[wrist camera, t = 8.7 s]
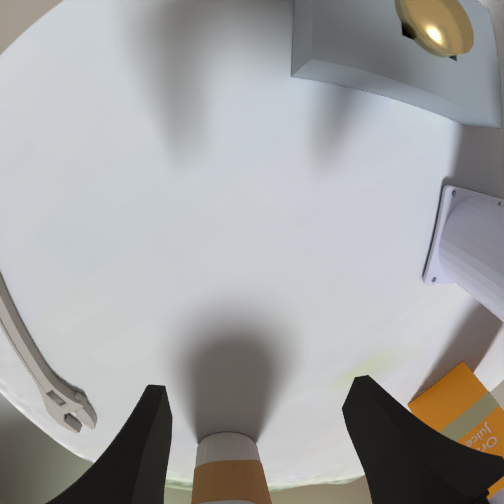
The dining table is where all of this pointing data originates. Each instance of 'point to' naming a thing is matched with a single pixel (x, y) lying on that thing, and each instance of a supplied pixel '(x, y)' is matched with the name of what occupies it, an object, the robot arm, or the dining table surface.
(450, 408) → the orange juice
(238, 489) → the coffee cup
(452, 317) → the dining table surface
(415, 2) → the brass door knob
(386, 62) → the block
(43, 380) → the adjustable wrench
